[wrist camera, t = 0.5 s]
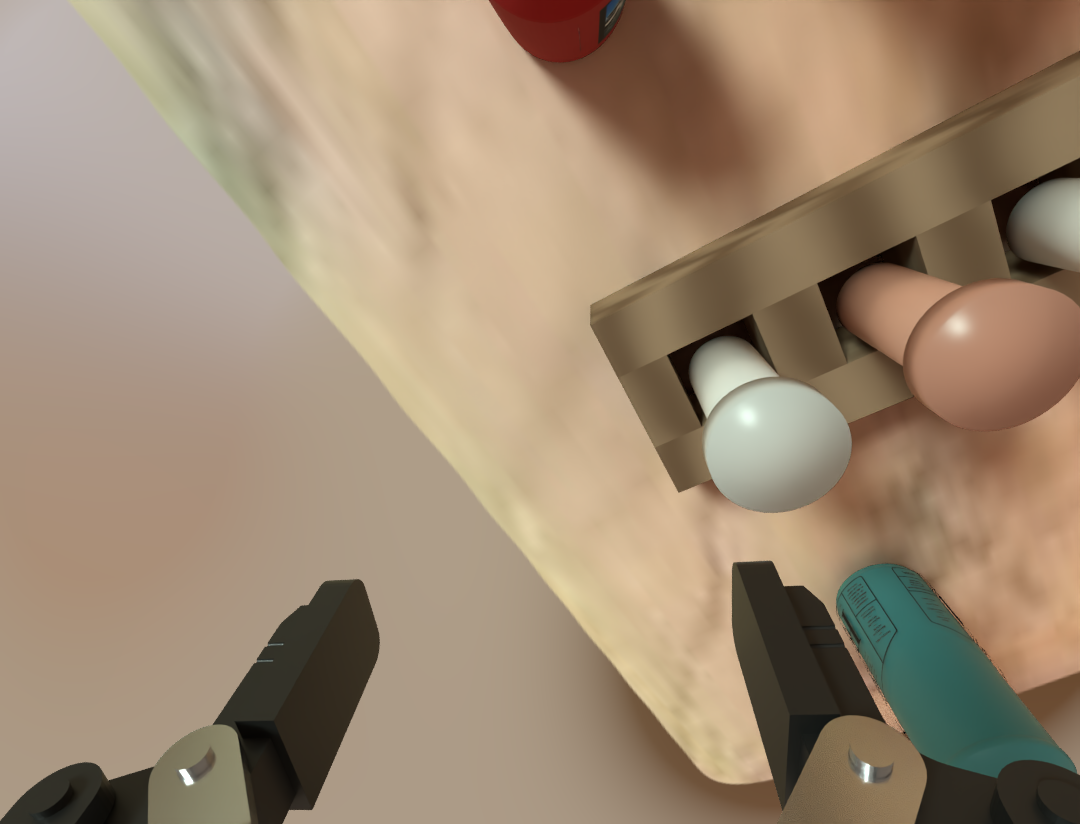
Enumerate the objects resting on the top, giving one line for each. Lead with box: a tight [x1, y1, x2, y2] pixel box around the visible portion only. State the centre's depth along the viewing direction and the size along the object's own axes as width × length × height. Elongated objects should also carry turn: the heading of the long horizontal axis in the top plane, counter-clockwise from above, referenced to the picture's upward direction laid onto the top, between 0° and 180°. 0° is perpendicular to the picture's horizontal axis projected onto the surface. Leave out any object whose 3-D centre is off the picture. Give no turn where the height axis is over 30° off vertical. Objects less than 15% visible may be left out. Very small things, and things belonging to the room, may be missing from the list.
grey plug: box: [689, 336, 852, 513], centre depth 28 cm, size 6×6×10 cm
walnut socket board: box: [590, 51, 1080, 492], centre depth 33 cm, size 28×12×5 cm, turn 119°
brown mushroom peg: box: [836, 263, 1080, 431], centre depth 26 cm, size 6×6×10 cm
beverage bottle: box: [836, 564, 1077, 778], centre depth 34 cm, size 6×7×20 cm
